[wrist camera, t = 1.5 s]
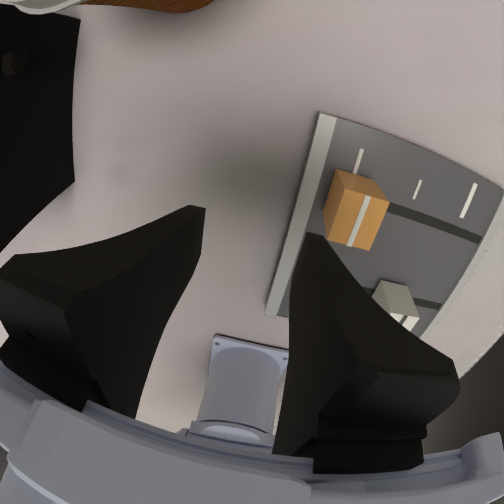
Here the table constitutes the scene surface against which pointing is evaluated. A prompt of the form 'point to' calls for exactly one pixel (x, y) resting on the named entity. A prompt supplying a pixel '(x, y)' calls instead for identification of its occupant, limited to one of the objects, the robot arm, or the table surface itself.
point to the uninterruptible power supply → (34, 113)
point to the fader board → (395, 218)
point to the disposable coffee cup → (42, 3)
